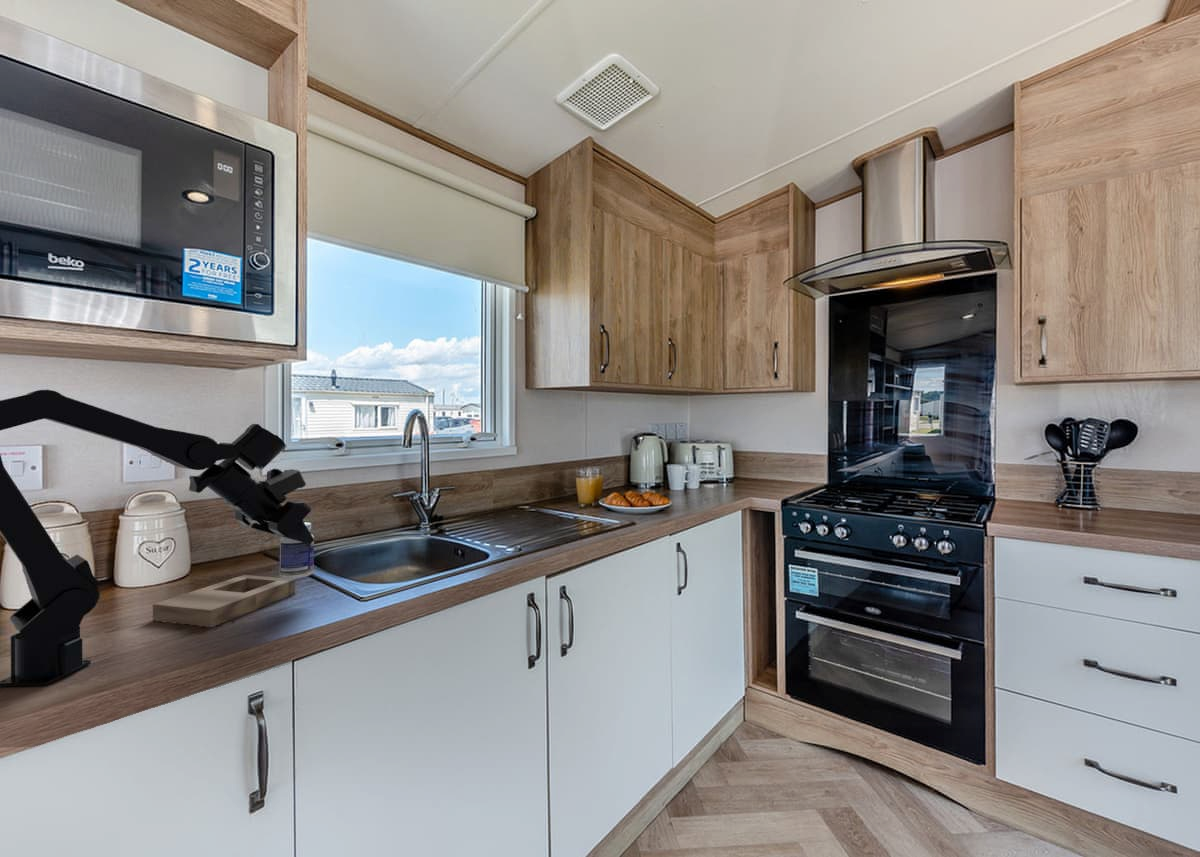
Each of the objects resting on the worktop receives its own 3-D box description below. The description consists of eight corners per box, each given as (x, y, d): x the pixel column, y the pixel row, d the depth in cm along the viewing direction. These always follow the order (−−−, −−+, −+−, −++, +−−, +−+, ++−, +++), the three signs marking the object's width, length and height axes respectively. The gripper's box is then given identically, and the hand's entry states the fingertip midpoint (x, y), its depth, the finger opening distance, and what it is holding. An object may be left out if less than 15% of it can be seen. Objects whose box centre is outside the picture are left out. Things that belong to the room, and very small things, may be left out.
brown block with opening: (211, 627, 87) (211, 610, 87) (152, 620, 90) (152, 604, 90) (295, 593, 105) (295, 579, 105) (243, 588, 108) (243, 574, 108)
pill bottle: (318, 574, 98) (318, 523, 98) (285, 581, 94) (285, 528, 94) (307, 569, 102) (308, 520, 102) (275, 575, 98) (275, 524, 98)
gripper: (299, 458, 89) (358, 511, 98) (253, 454, 100) (311, 503, 109) (248, 507, 83) (317, 560, 92) (205, 498, 93) (270, 546, 102)
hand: (304, 539), depth 99 cm, fingers closed on pill bottle, 6 cm apart
